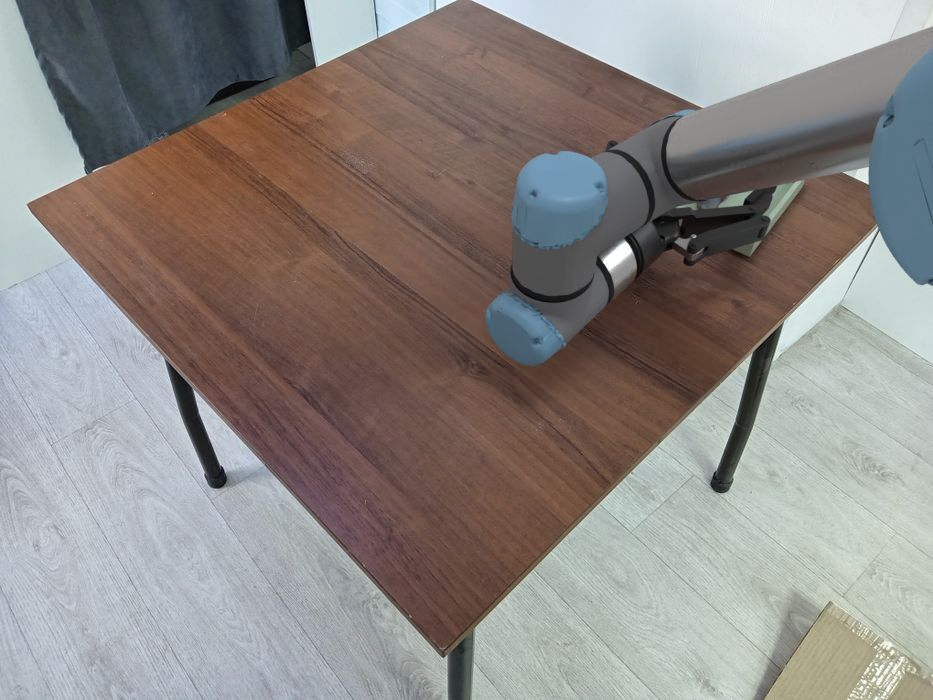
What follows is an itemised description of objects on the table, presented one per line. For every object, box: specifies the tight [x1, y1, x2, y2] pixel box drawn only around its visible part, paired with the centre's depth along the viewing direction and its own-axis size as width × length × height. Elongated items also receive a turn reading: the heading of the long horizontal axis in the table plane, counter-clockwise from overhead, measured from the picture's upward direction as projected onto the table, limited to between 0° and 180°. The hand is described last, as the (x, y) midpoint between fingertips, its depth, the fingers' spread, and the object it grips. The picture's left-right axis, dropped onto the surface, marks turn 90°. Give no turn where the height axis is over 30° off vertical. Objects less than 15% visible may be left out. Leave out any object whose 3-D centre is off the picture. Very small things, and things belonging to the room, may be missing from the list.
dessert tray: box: [676, 180, 806, 258], centre depth 95 cm, size 15×15×2 cm
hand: (721, 154), depth 88 cm, fingers open, 13 cm apart
